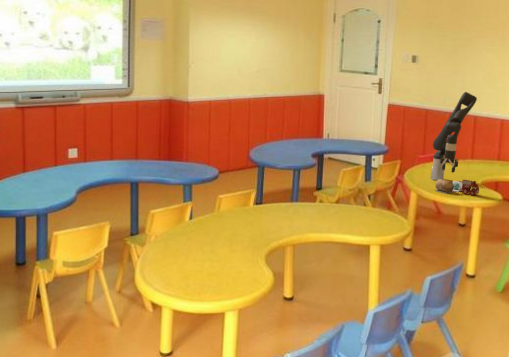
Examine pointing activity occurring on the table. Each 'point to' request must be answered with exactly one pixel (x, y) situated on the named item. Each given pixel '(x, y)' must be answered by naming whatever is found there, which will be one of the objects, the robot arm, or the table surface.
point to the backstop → (459, 185)
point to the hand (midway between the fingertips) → (448, 171)
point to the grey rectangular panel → (447, 192)
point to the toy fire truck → (469, 187)
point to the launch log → (444, 185)
